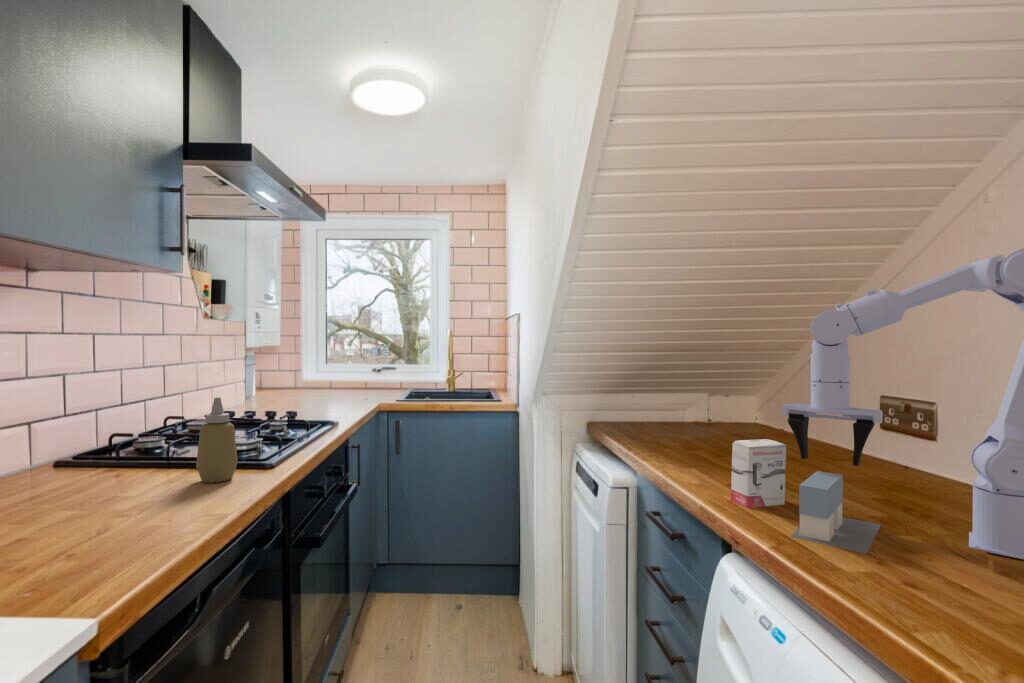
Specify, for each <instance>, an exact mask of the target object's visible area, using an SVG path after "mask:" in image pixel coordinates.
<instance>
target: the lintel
mask: <svg viewBox="0 0 1024 683" xmlns="http://www.w3.org/2000/svg"><path fill="white" fill-rule="evenodd" d="M843 481H844V475H843V474H839V473H834V472H833V473H832V472H828V471H827V472H826V471H821V470H817V471H816V472H814V473H812V474H811V475H810V476H809V477H807V478H806V479H805V480H804V481H802V482H801V483H800V484H799V486H798V487H799V488H798V494H799V496H798V500H799V501H798V506H799V507H798V514H799V515H800V514H802V515H807V516H812V517H817V518H822V519H828V518H829V517H830V515H831V514H832V513H833V512H834V511H835V510H836V509H837V507H838V506H839V505H840V504H841V503H842V504H843V502H844V496H843V495H844V493H843V492H844V488H843V487H844V482H843Z"/></svg>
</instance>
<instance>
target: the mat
mask: <svg viewBox="0 0 1024 683" xmlns="http://www.w3.org/2000/svg"><path fill="white" fill-rule="evenodd" d="M881 527H882V524H879V523H875V522H870V521H864V520H859V519H853V518H848V517H843V516H842V524H841V526H840V527H839V528H838V529H834V535H833V537H832V538H831V540H830V541H829V542H827V541H823V540H818V539H814V538H809V537H805V536H800V535H799V533H800V525H799V527H797V528H796V530H794V532H792V533H791V535H790V536H789V537H790V538H793V539H798V540H803V541H806V542H811V543H814V544H815V543H816V544H821V545H825V546H830V547H834V548H839V549H841V550H846V551H852V552H856V553H860V554H865V555H867V554H868V552H869V551H870V549H871V546H872V545H873V543H874V540H875V538H876V536H877V534H878V532H879V531H880V528H881Z"/></svg>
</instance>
